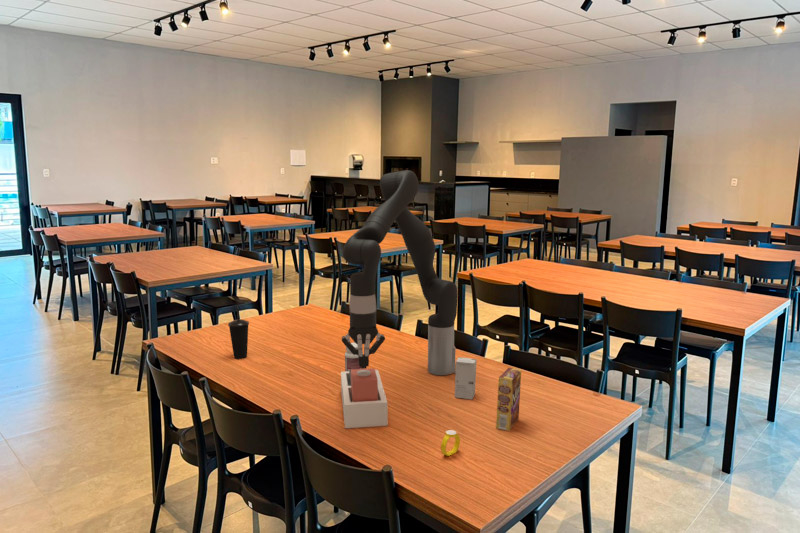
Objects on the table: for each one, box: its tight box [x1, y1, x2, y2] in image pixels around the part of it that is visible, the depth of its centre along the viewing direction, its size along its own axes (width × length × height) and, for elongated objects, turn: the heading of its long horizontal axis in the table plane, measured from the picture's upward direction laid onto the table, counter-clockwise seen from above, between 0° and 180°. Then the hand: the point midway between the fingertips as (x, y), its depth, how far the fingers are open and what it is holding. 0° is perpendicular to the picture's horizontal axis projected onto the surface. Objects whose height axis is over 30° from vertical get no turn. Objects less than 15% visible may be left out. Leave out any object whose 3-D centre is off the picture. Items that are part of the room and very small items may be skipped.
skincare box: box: [454, 357, 477, 400], centre depth 179 cm, size 6×4×12 cm
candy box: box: [495, 367, 522, 432], centre depth 159 cm, size 9×4×15 cm, turn 152°
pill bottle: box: [344, 342, 361, 372], centre depth 197 cm, size 6×6×11 cm
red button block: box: [351, 367, 378, 402], centre depth 164 cm, size 7×9×8 cm
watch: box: [440, 429, 461, 457], centre depth 144 cm, size 6×3×6 cm, turn 136°
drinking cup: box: [227, 306, 250, 360], centre depth 216 cm, size 8×8×20 cm
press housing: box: [340, 369, 389, 429], centre depth 171 cm, size 12×26×7 cm, turn 8°
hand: (363, 367), depth 163 cm, fingers closed
